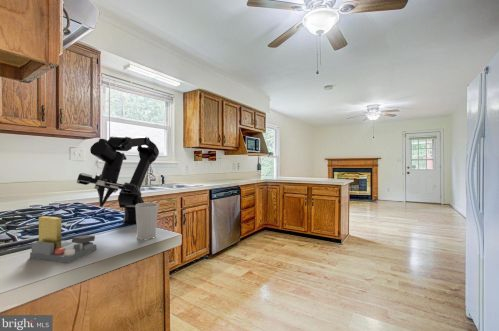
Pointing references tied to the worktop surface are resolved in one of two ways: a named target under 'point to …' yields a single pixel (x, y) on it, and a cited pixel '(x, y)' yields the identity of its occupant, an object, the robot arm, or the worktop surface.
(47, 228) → the yellow flat block
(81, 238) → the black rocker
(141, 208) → the cup
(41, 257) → the console
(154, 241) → the worktop surface
